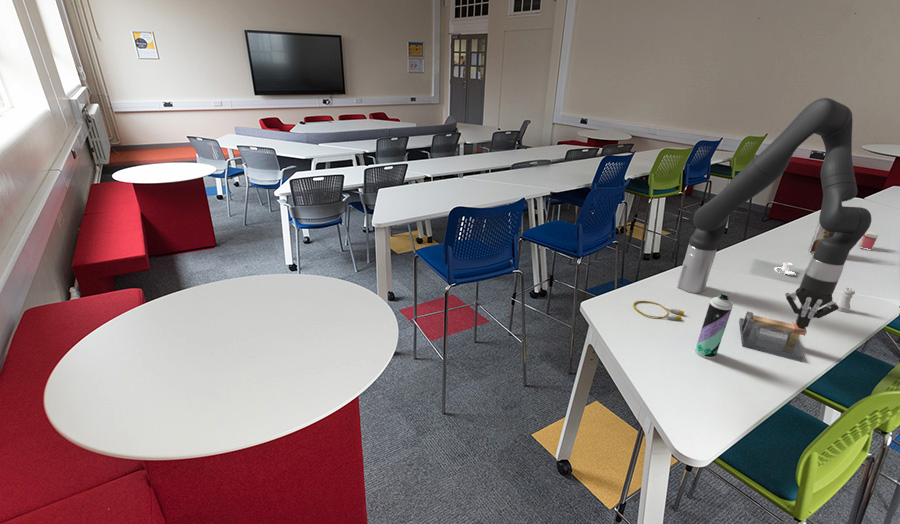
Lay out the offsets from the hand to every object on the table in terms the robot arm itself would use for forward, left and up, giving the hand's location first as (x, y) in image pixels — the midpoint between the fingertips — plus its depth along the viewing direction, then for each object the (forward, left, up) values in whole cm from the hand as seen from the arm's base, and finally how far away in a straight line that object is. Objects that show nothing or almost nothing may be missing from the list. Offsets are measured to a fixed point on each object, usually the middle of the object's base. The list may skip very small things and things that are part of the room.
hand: (800, 326), depth 133 cm
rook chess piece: (+19, +37, -7) cm, 42 cm away
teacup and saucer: (+4, +63, -8) cm, 63 cm away
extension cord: (-39, +1, -8) cm, 39 cm away
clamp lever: (-6, 0, -2) cm, 7 cm away
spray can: (-24, -18, -7) cm, 31 cm away
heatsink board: (-6, 0, -7) cm, 9 cm away
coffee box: (+23, +97, -7) cm, 100 cm away
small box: (+44, +118, -7) cm, 126 cm away
